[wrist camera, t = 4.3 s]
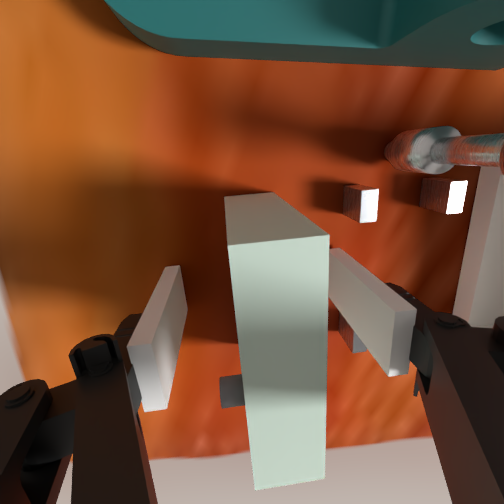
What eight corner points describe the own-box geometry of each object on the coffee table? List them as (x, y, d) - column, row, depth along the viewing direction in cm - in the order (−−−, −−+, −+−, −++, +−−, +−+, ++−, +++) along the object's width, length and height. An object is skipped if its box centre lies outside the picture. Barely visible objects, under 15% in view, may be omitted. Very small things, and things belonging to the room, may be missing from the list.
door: (204, 198, 14) (185, 249, 7) (272, 191, 14) (329, 234, 7) (224, 345, 17) (226, 495, 10) (280, 338, 17) (324, 478, 10)
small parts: (345, 135, 14) (612, 100, 4) (443, 128, 14) (884, 80, 5) (338, 331, 18) (472, 535, 8) (415, 321, 18) (627, 505, 9)
